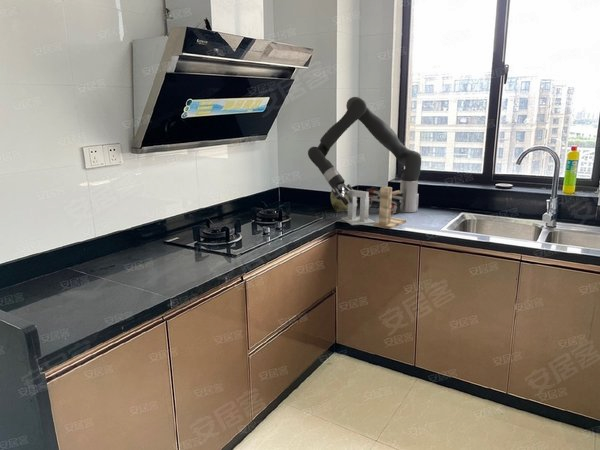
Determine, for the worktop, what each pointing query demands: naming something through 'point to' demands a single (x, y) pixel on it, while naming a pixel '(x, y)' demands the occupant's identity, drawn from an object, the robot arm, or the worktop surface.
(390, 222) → the stand
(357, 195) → the link
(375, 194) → the toy blaster
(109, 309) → the worktop surface
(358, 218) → the mat
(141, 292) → the worktop surface
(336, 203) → the fossil
